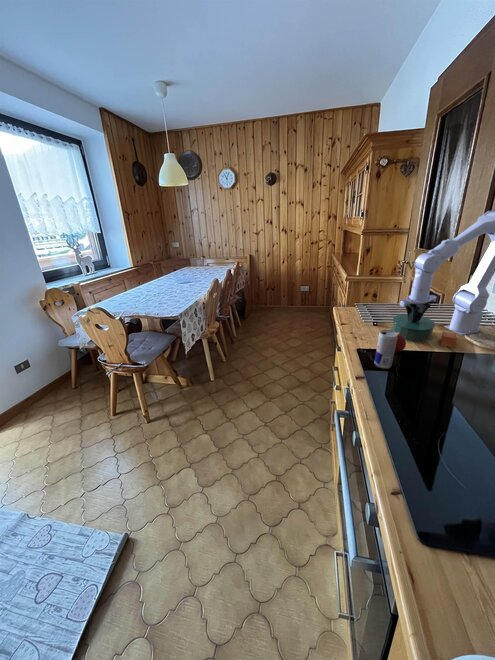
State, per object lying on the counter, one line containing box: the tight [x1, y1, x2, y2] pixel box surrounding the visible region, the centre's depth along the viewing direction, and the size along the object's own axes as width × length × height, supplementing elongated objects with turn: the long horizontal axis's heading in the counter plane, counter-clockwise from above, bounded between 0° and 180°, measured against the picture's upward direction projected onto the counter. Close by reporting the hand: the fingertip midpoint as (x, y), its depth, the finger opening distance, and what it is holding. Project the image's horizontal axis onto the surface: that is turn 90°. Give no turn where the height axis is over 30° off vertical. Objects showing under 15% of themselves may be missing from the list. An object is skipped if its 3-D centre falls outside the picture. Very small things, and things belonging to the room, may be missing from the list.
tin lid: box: [392, 312, 436, 331], centre depth 109 cm, size 14×14×5 cm
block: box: [440, 331, 458, 348], centre depth 103 cm, size 4×4×4 cm
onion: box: [394, 332, 407, 353], centre depth 100 cm, size 6×6×8 cm
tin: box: [391, 322, 434, 342], centre depth 112 cm, size 13×13×5 cm
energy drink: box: [373, 329, 398, 370], centre depth 93 cm, size 5×5×12 cm
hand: (413, 320), depth 110 cm, fingers closed on tin lid, 2 cm apart
